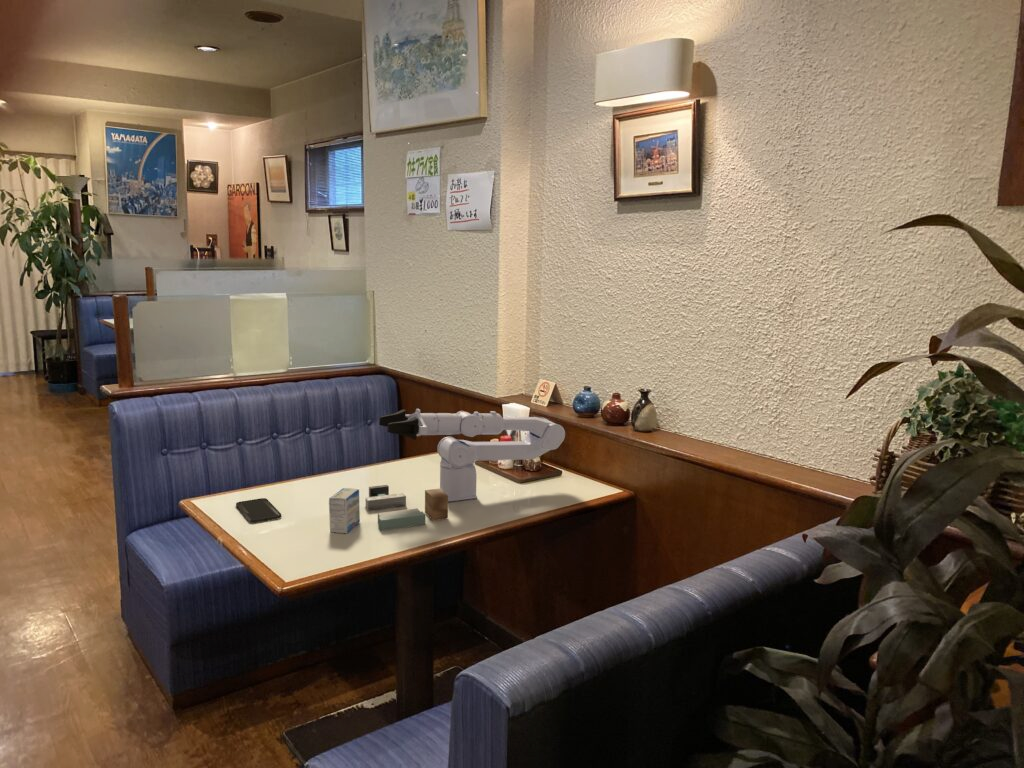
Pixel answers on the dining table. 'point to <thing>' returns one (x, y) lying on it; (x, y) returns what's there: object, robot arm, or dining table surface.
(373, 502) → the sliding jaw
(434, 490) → the walnut block
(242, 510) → the phone
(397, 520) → the teal flat block
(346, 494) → the medicine box
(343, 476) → the dining table surface
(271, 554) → the dining table surface
